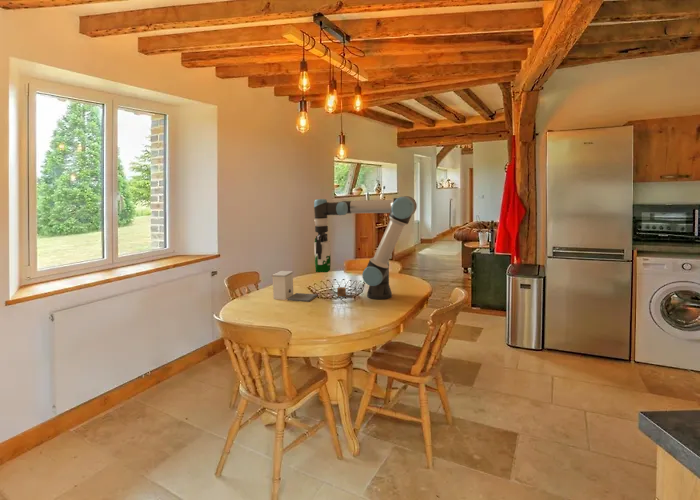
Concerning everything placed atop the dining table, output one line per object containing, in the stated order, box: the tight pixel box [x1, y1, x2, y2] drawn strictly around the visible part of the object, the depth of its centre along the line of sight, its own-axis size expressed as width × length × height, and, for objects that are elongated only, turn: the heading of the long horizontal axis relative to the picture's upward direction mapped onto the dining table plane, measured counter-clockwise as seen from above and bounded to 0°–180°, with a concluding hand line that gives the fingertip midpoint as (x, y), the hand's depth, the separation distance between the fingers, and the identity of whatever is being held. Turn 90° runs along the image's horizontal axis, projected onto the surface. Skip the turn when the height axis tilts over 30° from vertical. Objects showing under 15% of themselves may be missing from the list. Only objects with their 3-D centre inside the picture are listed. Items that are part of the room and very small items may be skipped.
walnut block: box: [336, 286, 347, 298], centre depth 271 cm, size 5×5×5 cm
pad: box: [286, 292, 318, 303], centre depth 268 cm, size 14×14×1 cm
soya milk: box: [313, 237, 332, 273], centre depth 261 cm, size 9×9×20 cm
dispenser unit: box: [271, 270, 295, 301], centre depth 270 cm, size 9×13×15 cm
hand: (322, 263), depth 262 cm, fingers closed on soya milk, 9 cm apart
